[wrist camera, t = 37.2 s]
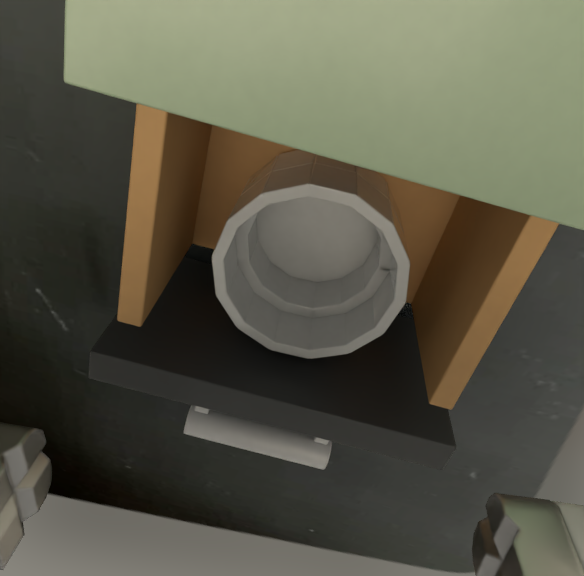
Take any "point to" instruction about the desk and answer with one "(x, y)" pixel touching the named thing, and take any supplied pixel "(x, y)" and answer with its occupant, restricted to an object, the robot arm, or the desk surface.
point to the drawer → (284, 367)
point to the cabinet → (365, 84)
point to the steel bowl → (312, 257)
